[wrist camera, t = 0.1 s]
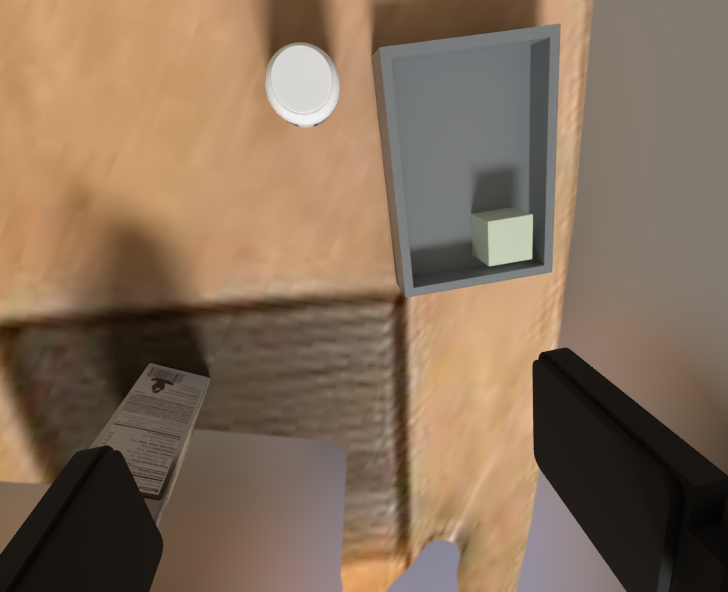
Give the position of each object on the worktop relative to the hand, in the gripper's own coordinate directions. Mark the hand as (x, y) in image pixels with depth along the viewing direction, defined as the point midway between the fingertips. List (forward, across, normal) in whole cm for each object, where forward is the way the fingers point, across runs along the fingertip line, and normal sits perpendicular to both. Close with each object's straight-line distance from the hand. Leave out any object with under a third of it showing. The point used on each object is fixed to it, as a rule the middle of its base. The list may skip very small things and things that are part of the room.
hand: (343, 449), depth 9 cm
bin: (+31, -14, -2) cm, 34 cm away
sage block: (+30, -16, +4) cm, 34 cm away
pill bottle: (+31, -1, -10) cm, 33 cm away
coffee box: (+31, +19, +16) cm, 40 cm away
